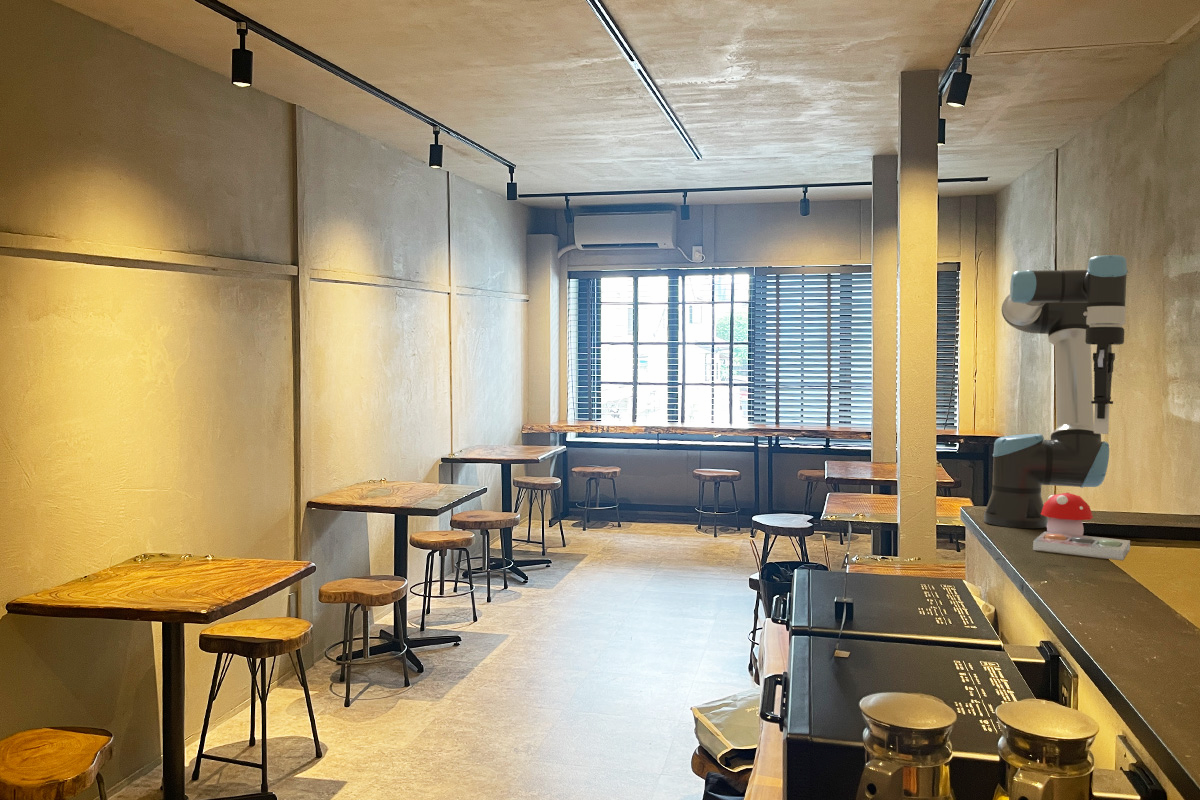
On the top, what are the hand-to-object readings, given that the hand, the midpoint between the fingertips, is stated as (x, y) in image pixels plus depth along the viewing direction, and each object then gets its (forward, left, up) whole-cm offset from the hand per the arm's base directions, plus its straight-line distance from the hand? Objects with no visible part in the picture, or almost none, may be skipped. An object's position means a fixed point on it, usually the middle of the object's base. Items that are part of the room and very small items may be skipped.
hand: (1101, 433), depth 206 cm
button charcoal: (+8, -2, -25) cm, 26 cm away
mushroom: (-6, -7, -27) cm, 28 cm away
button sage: (+8, +3, -25) cm, 26 cm away
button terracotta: (+8, -7, -25) cm, 27 cm away
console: (+8, -2, -26) cm, 28 cm away
